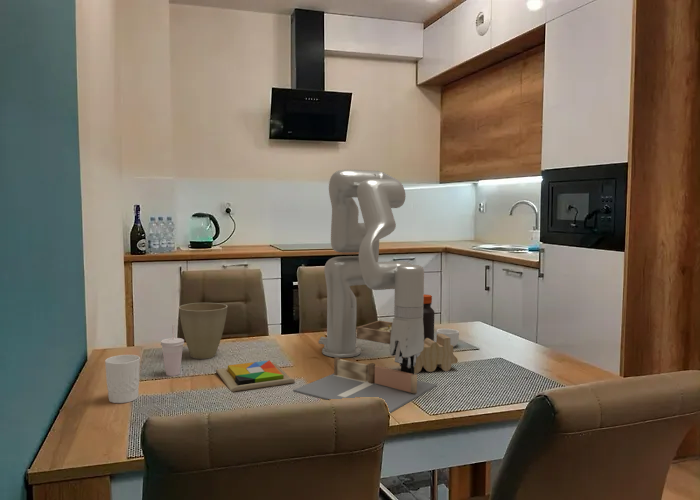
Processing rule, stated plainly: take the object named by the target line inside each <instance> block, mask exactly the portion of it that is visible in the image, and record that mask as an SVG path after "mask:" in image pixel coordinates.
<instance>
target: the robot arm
mask: <svg viewBox="0 0 700 500" xmlns="http://www.w3.org/2000/svg"><path fill="white" fill-rule="evenodd" d="M328 195H329V200H330V203H331V225H330V228H331V229H330V244H331V245H330V246H331V248H332V250H333V251H335V252H337V253H343V254H344V253H348V254H350V253H351V254H352V253H358V255H353V256H352V255H346V256H345V255H344V256H342V255H340V256H335V257H332V258H329V259H328V260H327V261H326V263H325V265H324V269H323V270H324V271H323V272H324V278H325V285H326V297H327V298H326V301H327V302H326V303H327V304H326V309H327V311H326V312H327V313H326V316H327V317H326V325H327V326H326V337H325V336H320V337H319V340H318V344H320V345H324V346H323V348H322V349H321V353H322V355H324V356H326V357H330V358H331V357H332V358H336V357H339V358H340V359H342V358H353V357H357V356H359V355H360V354H361V353H362V352H361V351H362V350H361V348H360V347H358V346H357V297H356V295H355V293H354V291H353V290H352V289H351V286H362V285H366V287H367V288H368V289H370V290H373V291H384V290H394V303H393V304H394V305H393V306H394V307H393V308H394V310H393V312H394V313H393V316H394V318H392V319H393V320H392V321H391V322H392V328H391V337H390V344H389V355H390V356H393V357H394V363H398V364H399V367H400V371H402V372H407V373H411V374H414V367H413V366H415V365H416V359H417V357H418V356H419V355H420V352H422V351H423V348H424V325H423V300H424V294H425V290H424V289H425V270H424V267H423V266H421V265H420V264H412V263H411V262H409V261H404V260H400V261H399V260H398V261H397V260H396V261H394V260H393V261H392V260H391V261H379V254H380V253H379V252H380V240H381V239H383V238H386V237H388V236H390V235H391V234H392V233H393V232H394V231H395V229H396V228H397V227H396V226H397V225H396V224H397V223H396V220H395V217H394V213H393V211H392V209H399V208H401V207H402V206H403V205H404V204H405V201H406V189H405V187H404V185H403V184H402V182H401V181H400V180H399V179H397V178H395V177H393V176H392V175H390V174H387V173H386V172H383V171H379V170H368V169H367V170H366V169H365V170H364V169H363V170H362V169H340V170H337V171H335V172H333V173H332V175H331V176H330V179H329V182H328ZM354 198H357V200H358V204H359V207H358V205H357V203H356V201H355V200H354ZM359 209H360V212H359ZM359 213H361V216H362V220H363V222H359V215H360V214H359Z"/></svg>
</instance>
